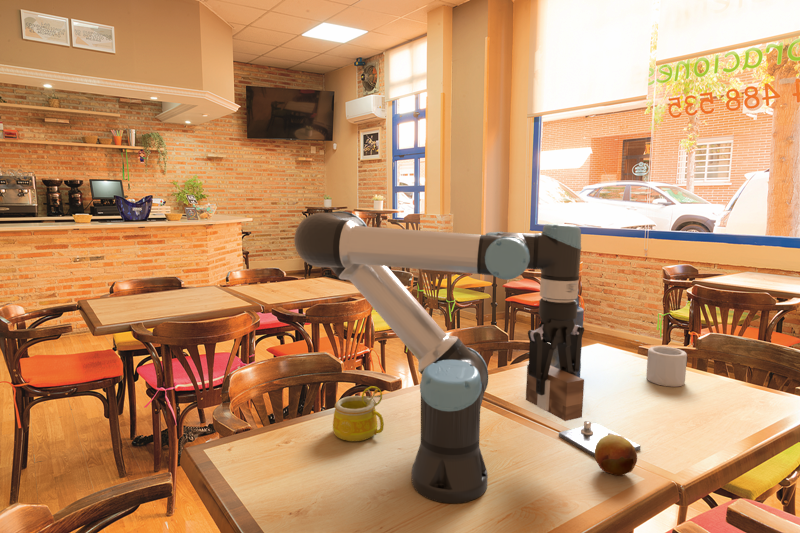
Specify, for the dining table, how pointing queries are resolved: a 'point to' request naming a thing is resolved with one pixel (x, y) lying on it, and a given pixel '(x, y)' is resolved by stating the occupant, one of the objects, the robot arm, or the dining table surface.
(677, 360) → the mug
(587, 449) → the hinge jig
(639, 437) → the dining table surface
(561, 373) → the door
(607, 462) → the fruit
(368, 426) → the mug
